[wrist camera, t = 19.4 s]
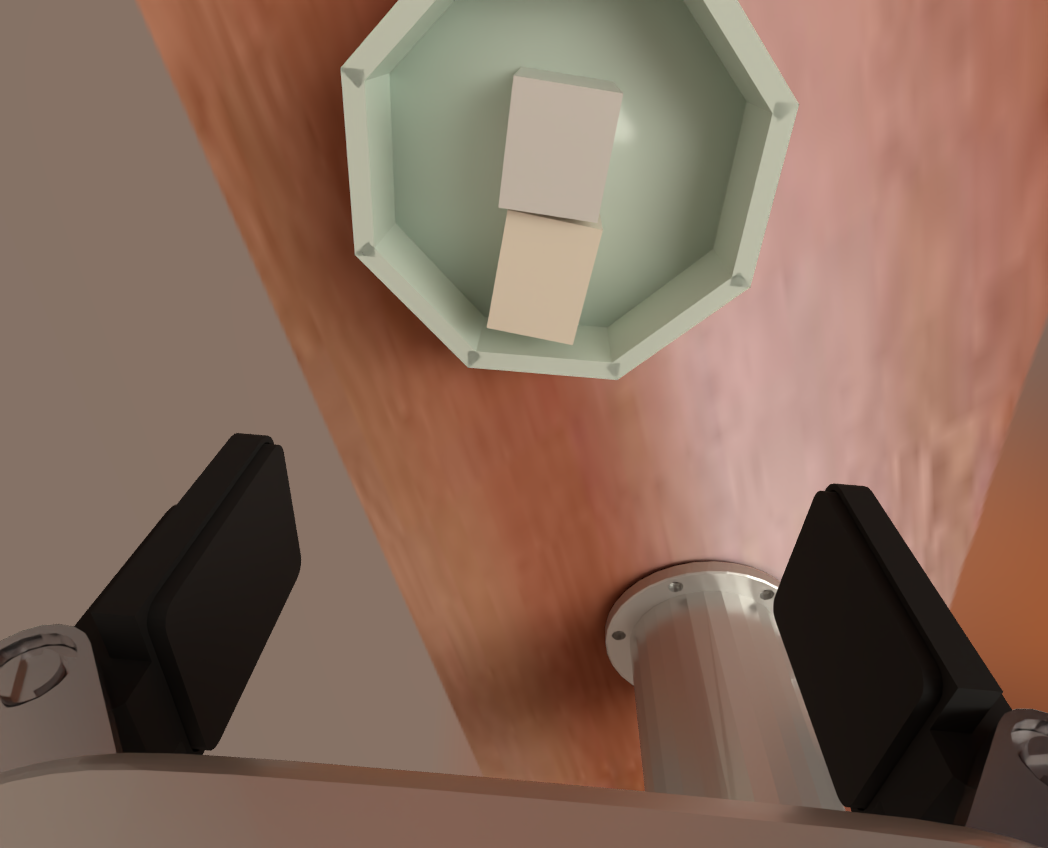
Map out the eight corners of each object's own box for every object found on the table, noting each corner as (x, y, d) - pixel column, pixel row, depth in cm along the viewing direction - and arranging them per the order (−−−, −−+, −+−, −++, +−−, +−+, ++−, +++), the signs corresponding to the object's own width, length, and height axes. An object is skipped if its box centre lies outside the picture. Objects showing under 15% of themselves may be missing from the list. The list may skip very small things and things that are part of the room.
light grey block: (613, 81, 25) (623, 93, 21) (592, 192, 27) (597, 223, 23) (521, 66, 25) (513, 75, 21) (508, 179, 27) (498, 207, 23)
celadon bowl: (798, -51, 23) (844, -66, 19) (703, 344, 31) (723, 388, 28) (365, -85, 23) (326, -106, 19) (386, 318, 31) (362, 359, 28)
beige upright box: (602, 230, 24) (572, 345, 26) (597, 202, 27) (571, 306, 30) (507, 209, 23) (486, 327, 26) (515, 184, 27) (495, 291, 30)
